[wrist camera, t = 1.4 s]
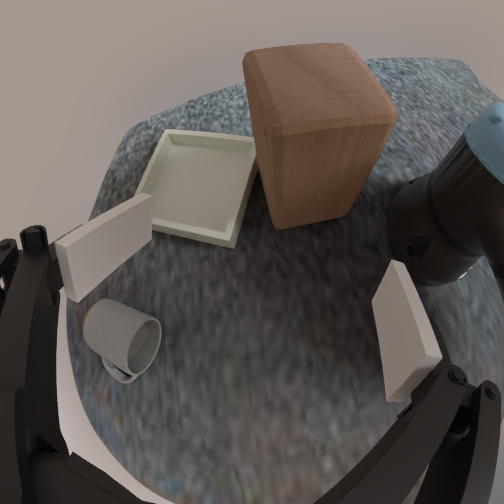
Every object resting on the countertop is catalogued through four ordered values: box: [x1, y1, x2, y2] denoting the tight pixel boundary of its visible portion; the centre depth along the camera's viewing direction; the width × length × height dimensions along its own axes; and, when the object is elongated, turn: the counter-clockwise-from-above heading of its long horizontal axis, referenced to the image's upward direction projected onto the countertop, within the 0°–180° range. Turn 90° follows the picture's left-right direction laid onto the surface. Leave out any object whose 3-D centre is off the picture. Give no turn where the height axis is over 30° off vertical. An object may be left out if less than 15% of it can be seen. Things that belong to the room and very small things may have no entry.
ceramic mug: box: [82, 299, 162, 384], centre depth 29 cm, size 11×8×8 cm
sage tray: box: [134, 129, 258, 249], centre depth 36 cm, size 15×15×4 cm
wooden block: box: [242, 43, 397, 230], centre depth 26 cm, size 10×10×20 cm
